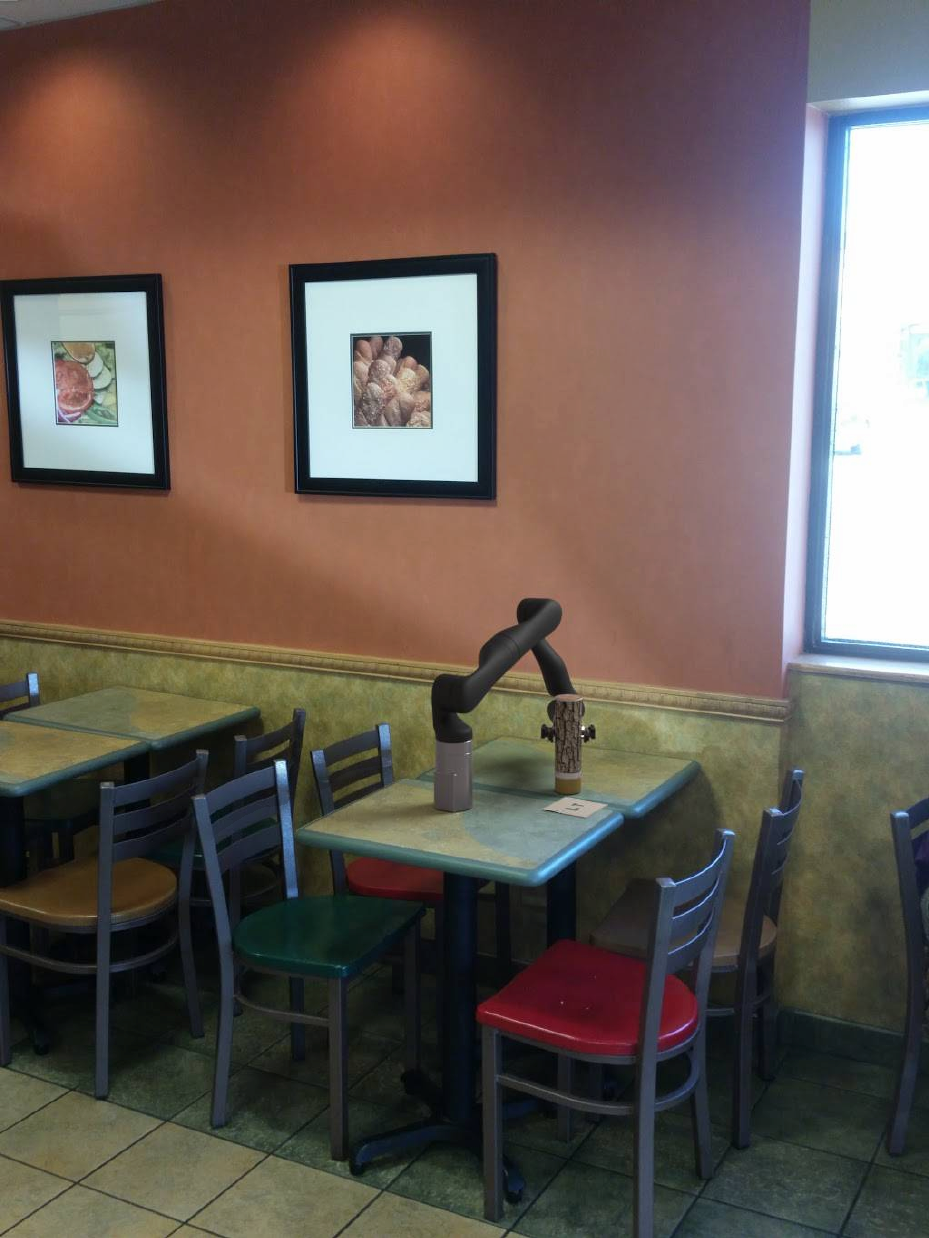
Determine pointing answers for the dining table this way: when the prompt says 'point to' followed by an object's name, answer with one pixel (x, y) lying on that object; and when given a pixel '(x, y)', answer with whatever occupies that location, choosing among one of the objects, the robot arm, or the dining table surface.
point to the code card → (575, 807)
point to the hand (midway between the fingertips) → (568, 738)
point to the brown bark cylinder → (568, 743)
